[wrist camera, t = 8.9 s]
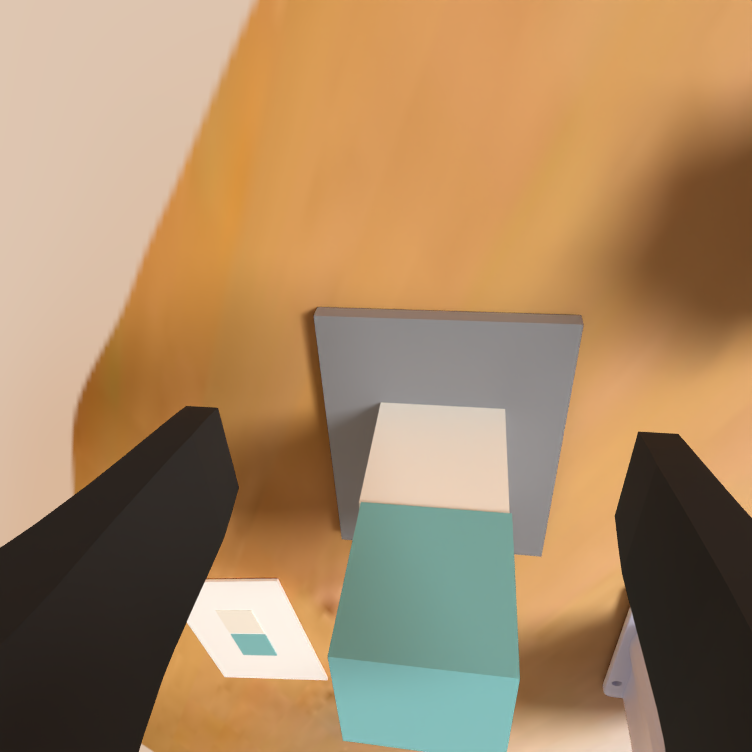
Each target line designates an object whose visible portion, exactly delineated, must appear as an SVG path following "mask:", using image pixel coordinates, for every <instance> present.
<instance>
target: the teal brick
mask: <svg viewBox="0 0 752 752" xmlns="http://www.w3.org/2000/svg"><path fill="white" fill-rule="evenodd" d="M328 661H329V667H330V672H331V678H332V683H333V689H334V694H335V700H336V705H337V710H338V716H339V721H340V727H341V732H342V738H343V741H349V742H357V743H364V744H372V745H379V746H386V747H394V748H401V749H409V750H416V751H424V752H507V747H508V742H509V736H510V731H511V725H512V720H513V714H514V709H515V703H516V698H517V692H518V687H519V681H520V670H519V649H518V628H517V606H516V585H515V564H514V543H513V522H512V513H500V512H487V511H473V510H460V509H447V508H434V507H421V506H408V505H395V504H382V503H369V502H361V504H360V508H359V513H358V518H357V522H356V527H355V532H354V536H353V541H352V546H351V550H350V555H349V560H348V564H347V569H346V574H345V578H344V583H343V588H342V592H341V597H340V601H339V606H338V611H337V615H336V620H335V625H334V629H333V634H332V639H331V643H330V648H329V653H328Z"/></svg>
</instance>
